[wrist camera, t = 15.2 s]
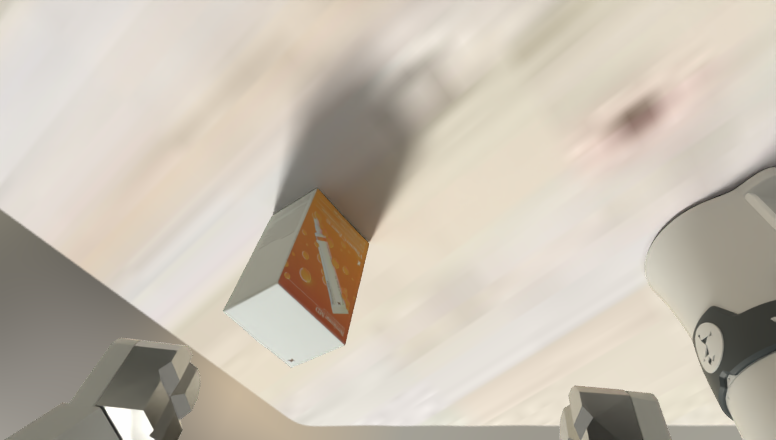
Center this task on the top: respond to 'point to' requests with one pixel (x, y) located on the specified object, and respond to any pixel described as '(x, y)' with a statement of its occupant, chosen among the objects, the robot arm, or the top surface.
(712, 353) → the robot arm
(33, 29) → the top surface
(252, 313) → the small box
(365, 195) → the top surface
